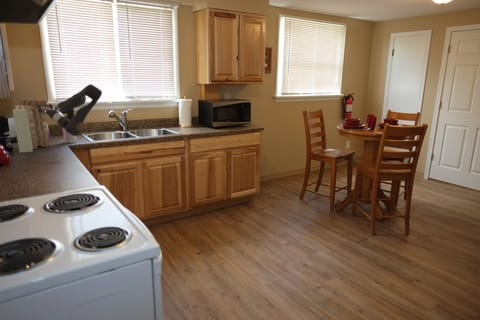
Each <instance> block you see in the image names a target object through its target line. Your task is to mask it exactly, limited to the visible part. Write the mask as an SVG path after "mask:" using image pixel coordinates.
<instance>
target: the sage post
mask: <svg viewBox="0 0 480 320" xmlns="http://www.w3.org/2000/svg"><path fill="white" fill-rule="evenodd" d="M12 113H13V114H12V115H13V121H14V127H15V133H16V141H17V145H18V151H19V154H22V152H23V153H32V152H33V151H34V149H33V147H32V140H31V133H30V127H29V120H28V114H27V109H19V110H15V109H12Z"/></svg>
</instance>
